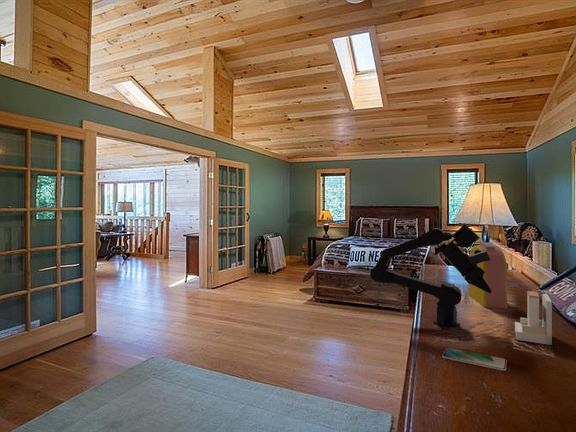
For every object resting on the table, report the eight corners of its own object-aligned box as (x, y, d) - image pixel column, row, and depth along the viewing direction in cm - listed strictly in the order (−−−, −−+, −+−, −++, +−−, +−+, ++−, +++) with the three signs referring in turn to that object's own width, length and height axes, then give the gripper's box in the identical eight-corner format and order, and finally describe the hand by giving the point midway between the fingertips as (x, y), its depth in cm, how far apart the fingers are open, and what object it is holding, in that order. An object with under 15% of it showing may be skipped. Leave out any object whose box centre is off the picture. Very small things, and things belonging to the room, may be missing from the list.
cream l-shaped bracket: (516, 339, 107) (516, 298, 107) (514, 329, 117) (514, 291, 117) (551, 345, 103) (551, 301, 103) (547, 333, 112) (547, 294, 112)
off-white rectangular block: (529, 330, 107) (529, 295, 107) (527, 324, 113) (527, 291, 113) (539, 332, 106) (539, 296, 106) (536, 325, 112) (536, 291, 112)
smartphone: (505, 369, 86) (441, 356, 95) (505, 373, 86) (441, 359, 95) (506, 358, 92) (446, 347, 100) (506, 362, 92) (446, 349, 100)
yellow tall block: (508, 308, 142) (508, 244, 142) (484, 307, 144) (483, 244, 144) (489, 296, 162) (488, 240, 162) (468, 295, 164) (468, 240, 164)
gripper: (478, 242, 110) (517, 280, 106) (472, 241, 128) (505, 274, 123) (450, 264, 113) (487, 302, 109) (447, 260, 130) (479, 293, 126)
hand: (490, 292), depth 116 cm, fingers closed
